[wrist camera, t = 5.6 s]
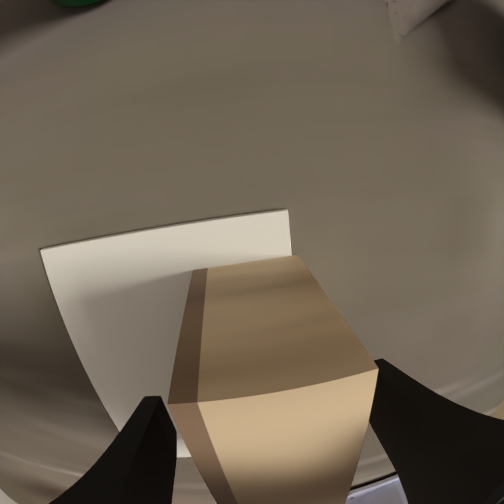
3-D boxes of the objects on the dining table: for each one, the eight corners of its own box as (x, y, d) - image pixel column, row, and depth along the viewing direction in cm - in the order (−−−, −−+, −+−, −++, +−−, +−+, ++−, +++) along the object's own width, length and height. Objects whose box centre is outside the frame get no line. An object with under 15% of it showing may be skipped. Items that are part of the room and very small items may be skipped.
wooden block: (304, 426, 13) (335, 528, 7) (233, 438, 13) (243, 544, 7) (297, 254, 10) (378, 368, 5) (193, 269, 10) (167, 404, 4)
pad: (299, 439, 14) (300, 443, 13) (136, 452, 13) (136, 456, 13) (285, 208, 10) (287, 210, 10) (43, 247, 9) (39, 250, 9)
